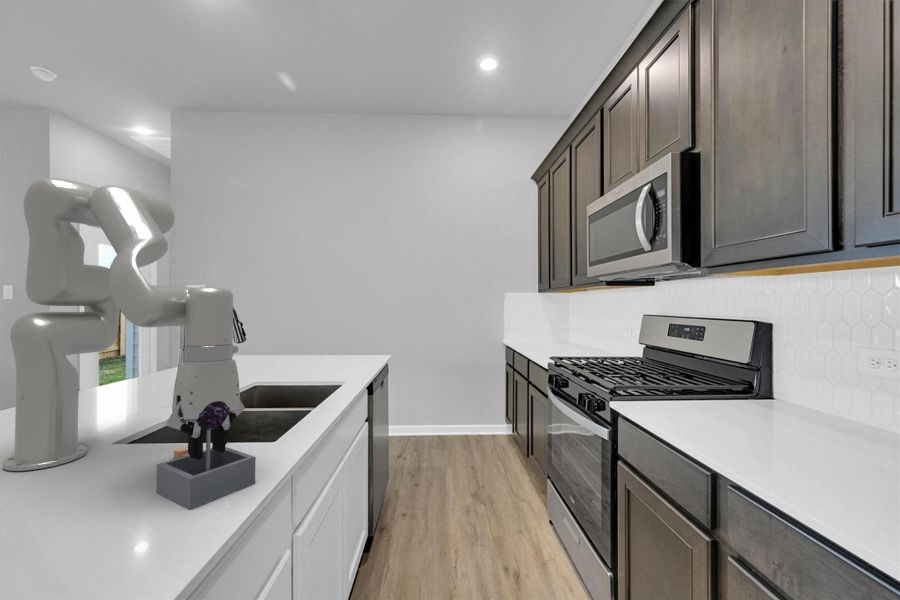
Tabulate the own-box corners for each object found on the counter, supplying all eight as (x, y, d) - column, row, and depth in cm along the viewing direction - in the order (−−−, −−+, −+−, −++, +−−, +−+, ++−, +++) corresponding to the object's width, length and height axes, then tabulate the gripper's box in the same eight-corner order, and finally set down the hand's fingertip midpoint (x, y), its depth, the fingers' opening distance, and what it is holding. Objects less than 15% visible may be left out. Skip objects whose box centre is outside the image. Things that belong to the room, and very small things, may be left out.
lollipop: (220, 465, 78) (221, 388, 79) (235, 475, 74) (236, 394, 74) (179, 477, 73) (181, 394, 73) (193, 488, 69) (195, 400, 69)
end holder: (156, 492, 72) (156, 464, 72) (220, 470, 81) (221, 445, 81) (189, 509, 66) (190, 479, 66) (255, 483, 75) (255, 456, 76)
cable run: (171, 457, 88) (171, 447, 88) (191, 453, 90) (191, 443, 90) (186, 481, 76) (186, 470, 76) (209, 476, 79) (209, 464, 79)
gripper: (240, 349, 83) (239, 438, 83) (147, 357, 69) (145, 465, 68) (262, 351, 79) (261, 444, 79) (169, 361, 65) (167, 475, 65)
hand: (207, 453), depth 74 cm, fingers closed on lollipop, 3 cm apart
